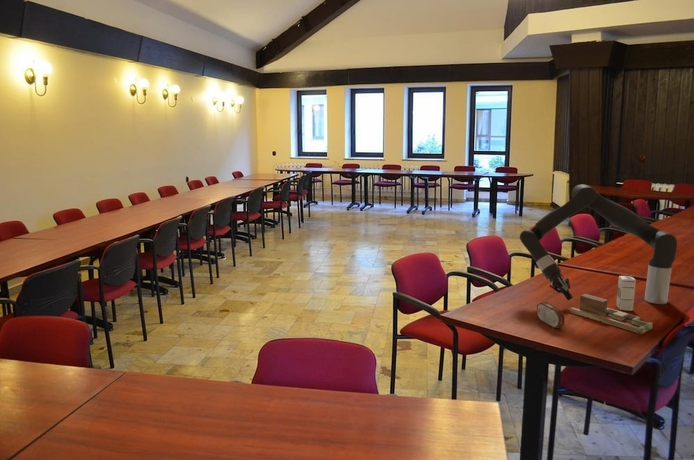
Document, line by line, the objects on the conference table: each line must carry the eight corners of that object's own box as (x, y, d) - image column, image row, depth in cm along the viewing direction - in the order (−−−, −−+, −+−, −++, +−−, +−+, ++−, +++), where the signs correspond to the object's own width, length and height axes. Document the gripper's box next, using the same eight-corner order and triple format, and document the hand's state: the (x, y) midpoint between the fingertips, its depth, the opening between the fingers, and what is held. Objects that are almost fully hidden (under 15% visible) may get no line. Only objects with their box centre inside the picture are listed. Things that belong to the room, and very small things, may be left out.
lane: (586, 306, 241) (587, 300, 240) (657, 326, 217) (657, 320, 217) (570, 312, 233) (570, 307, 232) (641, 334, 209) (642, 328, 208)
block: (583, 311, 235) (585, 293, 233) (605, 317, 227) (607, 299, 225) (578, 312, 232) (580, 295, 231) (601, 319, 224) (603, 301, 223)
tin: (564, 330, 212) (566, 310, 210) (557, 331, 211) (559, 311, 210) (540, 317, 226) (542, 299, 225) (534, 318, 225) (536, 299, 224)
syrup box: (633, 311, 235) (636, 279, 232) (618, 310, 236) (622, 278, 233) (629, 306, 240) (632, 276, 237) (615, 305, 242) (618, 275, 239)
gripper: (545, 264, 238) (568, 297, 230) (562, 260, 245) (584, 292, 238) (534, 273, 243) (556, 306, 236) (551, 268, 251) (572, 300, 243)
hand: (570, 299), depth 237 cm, fingers closed
